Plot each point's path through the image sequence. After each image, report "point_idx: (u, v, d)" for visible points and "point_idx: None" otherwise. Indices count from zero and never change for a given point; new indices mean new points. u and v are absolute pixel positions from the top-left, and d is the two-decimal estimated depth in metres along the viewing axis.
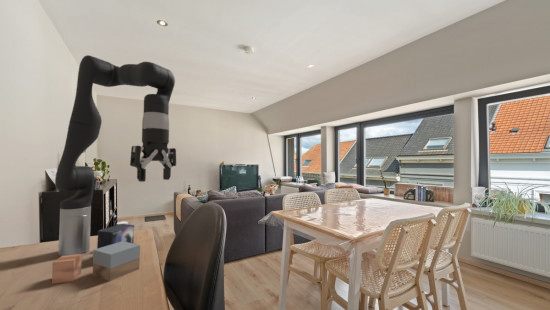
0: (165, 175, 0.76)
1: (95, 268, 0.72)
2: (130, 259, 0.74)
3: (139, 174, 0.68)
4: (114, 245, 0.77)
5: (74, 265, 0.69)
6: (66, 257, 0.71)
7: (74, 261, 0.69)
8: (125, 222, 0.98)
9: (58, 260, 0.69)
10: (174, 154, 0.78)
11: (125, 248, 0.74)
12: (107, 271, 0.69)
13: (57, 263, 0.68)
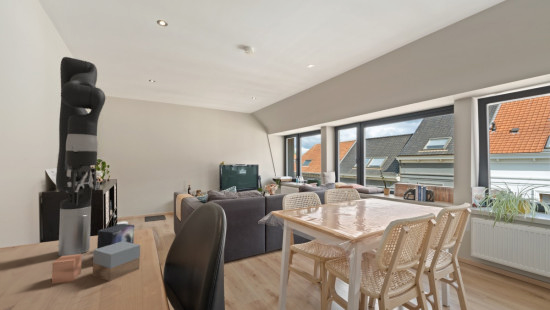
0: (86, 196, 0.75)
1: (95, 268, 0.72)
2: (130, 259, 0.74)
3: (72, 198, 0.67)
4: (114, 245, 0.77)
5: (74, 265, 0.69)
6: (66, 257, 0.71)
7: (74, 261, 0.69)
8: (125, 222, 0.98)
9: (58, 260, 0.69)
10: (95, 174, 0.78)
11: (125, 248, 0.74)
12: (107, 272, 0.69)
13: (57, 264, 0.68)
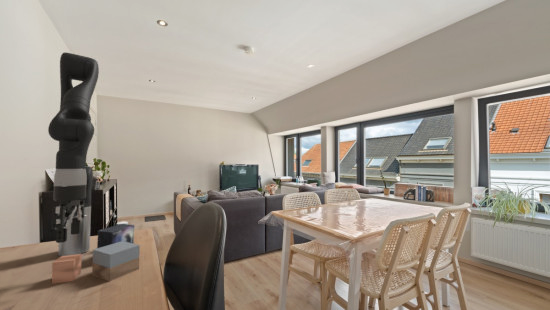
0: (74, 229, 0.74)
1: (95, 268, 0.72)
2: (130, 259, 0.74)
3: (61, 235, 0.66)
4: (114, 245, 0.77)
5: (74, 265, 0.69)
6: (66, 257, 0.71)
7: (74, 261, 0.69)
8: (125, 222, 0.98)
9: (58, 260, 0.69)
10: (83, 206, 0.77)
11: (124, 248, 0.74)
12: (107, 272, 0.69)
13: (57, 264, 0.68)
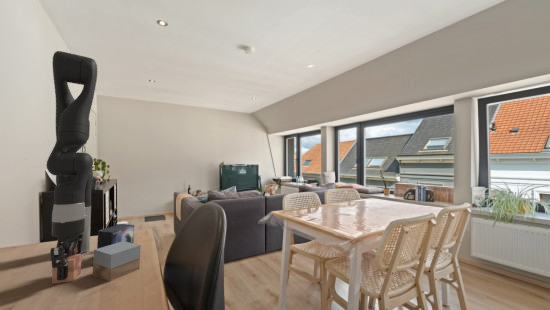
0: None
1: (95, 268, 0.72)
2: (130, 259, 0.74)
3: (61, 273, 0.67)
4: (115, 245, 0.76)
5: (74, 265, 0.69)
6: None
7: (74, 260, 0.69)
8: (125, 222, 0.98)
9: None
10: (81, 241, 0.76)
11: (125, 248, 0.74)
12: (108, 271, 0.69)
13: None
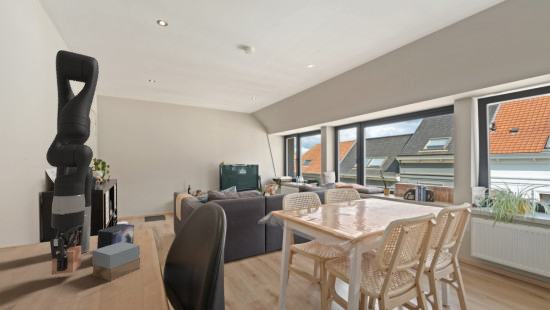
0: None
1: (95, 268, 0.72)
2: (130, 260, 0.74)
3: (61, 264, 0.67)
4: (114, 245, 0.76)
5: (74, 256, 0.70)
6: None
7: (74, 252, 0.69)
8: (125, 222, 0.98)
9: None
10: (81, 233, 0.77)
11: (124, 248, 0.74)
12: (108, 272, 0.69)
13: None
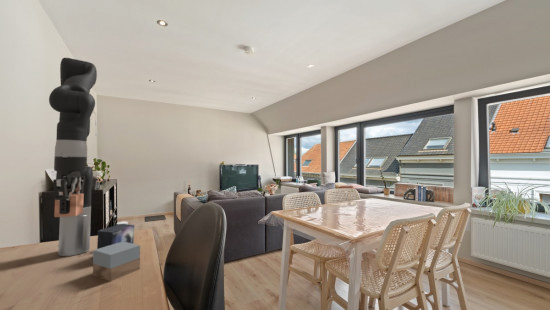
0: None
1: (95, 268, 0.72)
2: (130, 259, 0.74)
3: (64, 206, 0.68)
4: (114, 245, 0.76)
5: (77, 201, 0.70)
6: None
7: (76, 196, 0.70)
8: (125, 222, 0.98)
9: None
10: (83, 182, 0.77)
11: (125, 248, 0.74)
12: (108, 272, 0.69)
13: None
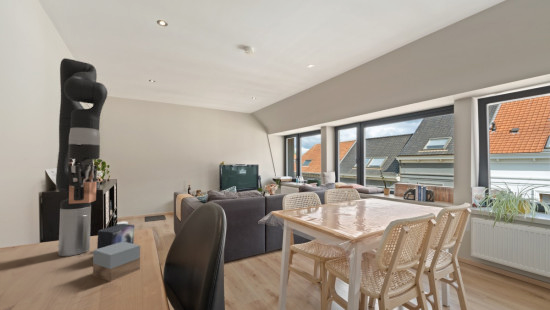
0: None
1: (95, 268, 0.72)
2: (130, 260, 0.74)
3: (78, 193, 0.69)
4: (114, 245, 0.76)
5: (90, 188, 0.71)
6: None
7: (90, 183, 0.71)
8: (125, 222, 0.98)
9: None
10: (95, 171, 0.78)
11: (125, 248, 0.73)
12: (108, 272, 0.69)
13: None
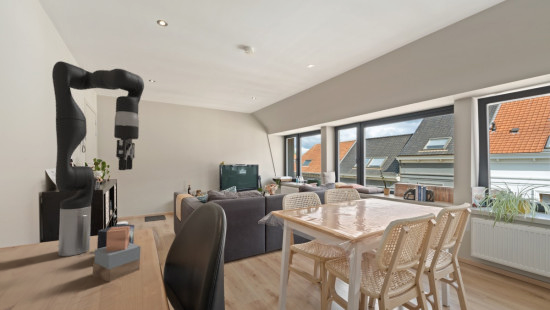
0: (128, 165, 0.89)
1: (95, 269, 0.71)
2: (130, 260, 0.73)
3: (122, 164, 0.81)
4: None
5: (126, 235, 0.74)
6: (117, 228, 0.75)
7: (126, 230, 0.73)
8: (125, 222, 0.98)
9: (111, 230, 0.73)
10: (134, 148, 0.92)
11: (125, 249, 0.73)
12: (107, 272, 0.69)
13: (111, 233, 0.72)
